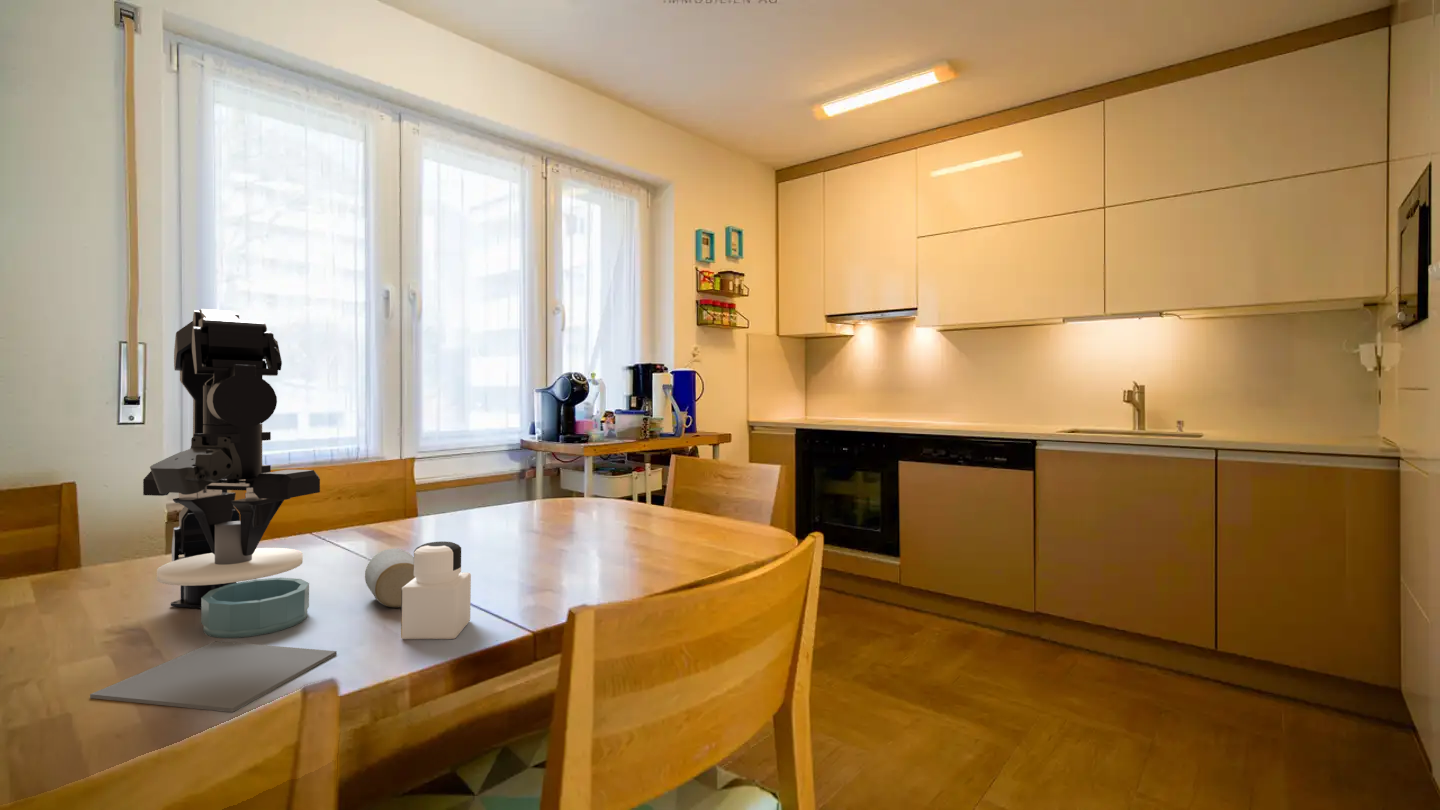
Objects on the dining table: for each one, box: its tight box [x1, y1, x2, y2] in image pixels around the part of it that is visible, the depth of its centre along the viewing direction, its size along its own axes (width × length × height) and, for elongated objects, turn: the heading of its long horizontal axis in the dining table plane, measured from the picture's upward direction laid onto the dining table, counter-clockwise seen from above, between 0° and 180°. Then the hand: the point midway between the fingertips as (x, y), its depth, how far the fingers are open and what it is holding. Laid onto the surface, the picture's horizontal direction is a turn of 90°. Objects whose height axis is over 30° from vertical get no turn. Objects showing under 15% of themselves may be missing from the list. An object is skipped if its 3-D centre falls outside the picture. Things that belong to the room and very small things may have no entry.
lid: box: [156, 521, 304, 587], centre depth 79 cm, size 14×14×6 cm
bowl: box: [200, 577, 310, 639], centre depth 93 cm, size 12×12×4 cm
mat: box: [89, 640, 337, 713], centre depth 76 cm, size 17×15×1 cm
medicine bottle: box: [400, 541, 472, 640], centre depth 91 cm, size 7×7×12 cm
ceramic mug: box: [364, 548, 415, 609], centre depth 104 cm, size 11×8×8 cm
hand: (233, 554), depth 79 cm, fingers closed on lid, 4 cm apart
